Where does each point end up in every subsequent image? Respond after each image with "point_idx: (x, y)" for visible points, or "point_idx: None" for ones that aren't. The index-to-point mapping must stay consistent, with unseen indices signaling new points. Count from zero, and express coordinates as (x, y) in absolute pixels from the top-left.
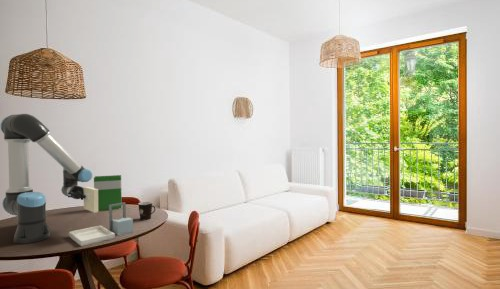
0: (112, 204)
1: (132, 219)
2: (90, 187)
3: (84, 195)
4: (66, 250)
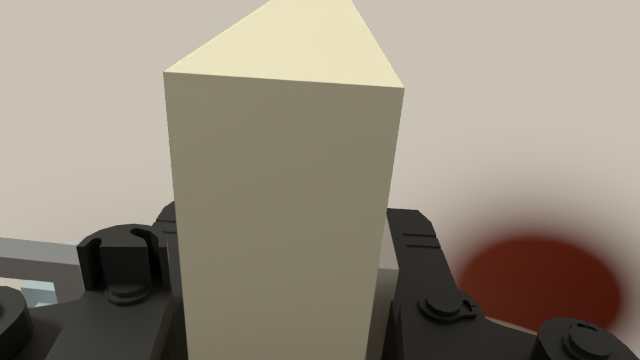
0: (40, 253)
1: (73, 242)
2: (265, 12)
3: (399, 217)
4: (505, 323)
